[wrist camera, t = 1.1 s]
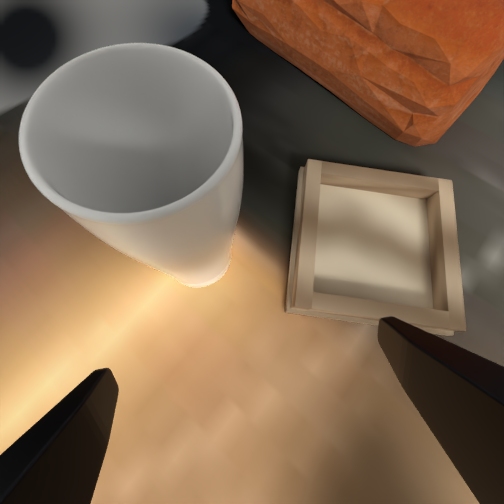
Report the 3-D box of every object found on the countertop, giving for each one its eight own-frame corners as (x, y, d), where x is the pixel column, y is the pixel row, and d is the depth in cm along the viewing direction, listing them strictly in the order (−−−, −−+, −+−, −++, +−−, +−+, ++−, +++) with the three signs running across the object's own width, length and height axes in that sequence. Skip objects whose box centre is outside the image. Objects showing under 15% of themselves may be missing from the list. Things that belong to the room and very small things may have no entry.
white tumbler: (194, 316, 21) (103, 276, 7) (140, 254, 22) (-34, 110, 8) (257, 258, 23) (291, 128, 8) (203, 204, 24) (153, 9, 10)
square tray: (446, 335, 22) (471, 335, 19) (284, 312, 22) (290, 309, 19) (435, 191, 25) (455, 177, 23) (298, 171, 25) (304, 155, 23)
